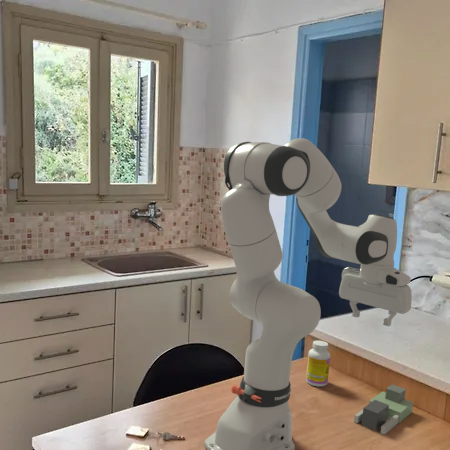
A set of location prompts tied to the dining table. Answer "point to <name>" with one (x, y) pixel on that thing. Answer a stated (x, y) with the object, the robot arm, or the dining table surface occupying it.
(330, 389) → the dining table surface
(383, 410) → the grey rectangular block
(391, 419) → the two-prong power plug
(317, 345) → the supplement bottle
